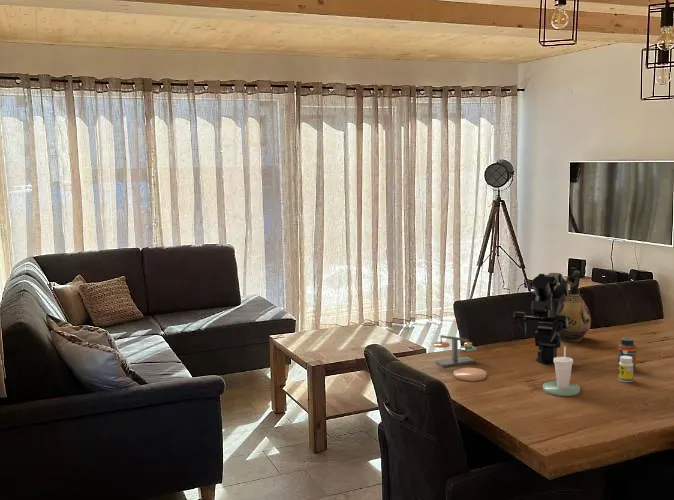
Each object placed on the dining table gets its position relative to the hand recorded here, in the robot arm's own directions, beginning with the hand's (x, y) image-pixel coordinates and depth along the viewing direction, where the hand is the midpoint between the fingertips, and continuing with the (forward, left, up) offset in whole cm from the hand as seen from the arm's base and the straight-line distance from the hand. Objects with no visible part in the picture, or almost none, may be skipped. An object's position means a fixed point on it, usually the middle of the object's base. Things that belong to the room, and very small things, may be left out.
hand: (537, 340), depth 237 cm
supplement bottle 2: (-26, +16, -14) cm, 33 cm away
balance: (+17, -28, -14) cm, 36 cm away
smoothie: (0, +15, -13) cm, 20 cm away
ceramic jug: (-46, -36, -14) cm, 60 cm away
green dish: (+1, +14, -14) cm, 20 cm away
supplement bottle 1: (-36, +6, -14) cm, 39 cm away
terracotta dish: (+20, -12, -14) cm, 28 cm away
